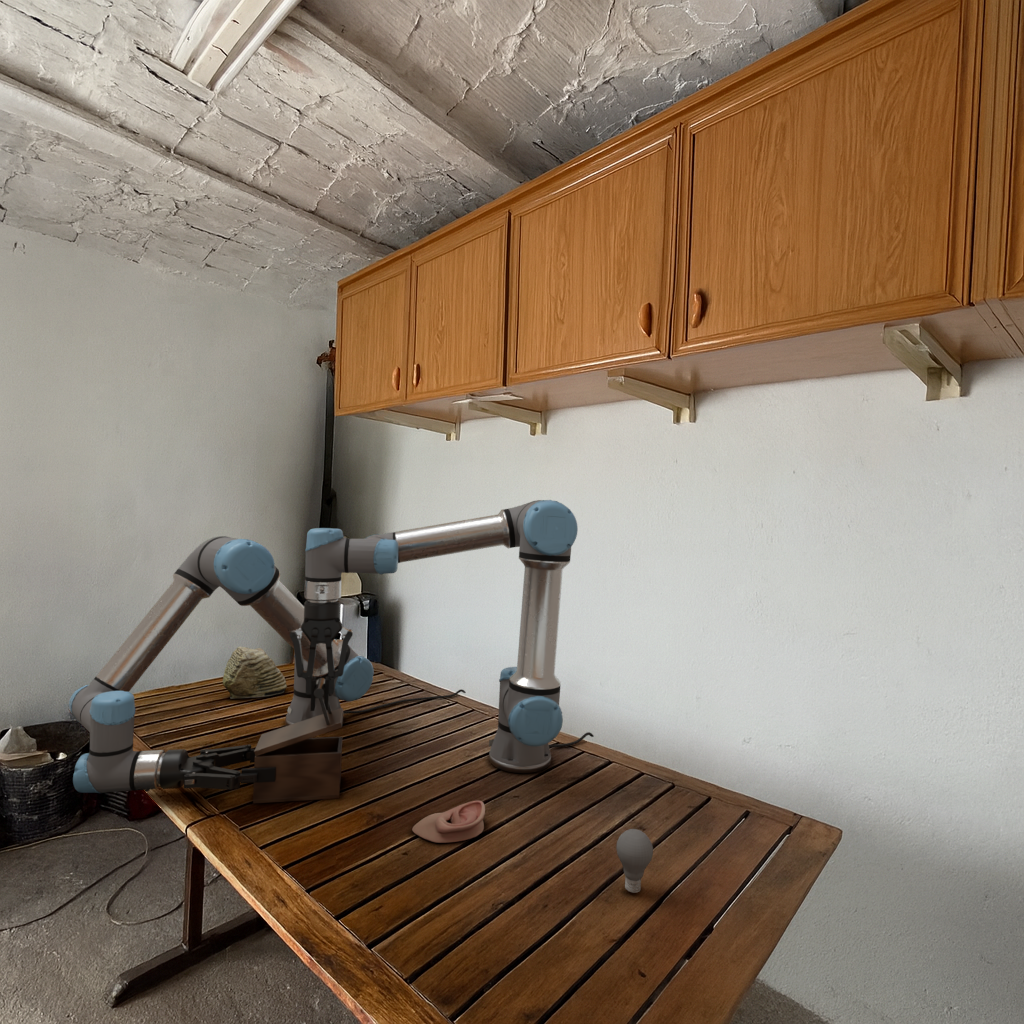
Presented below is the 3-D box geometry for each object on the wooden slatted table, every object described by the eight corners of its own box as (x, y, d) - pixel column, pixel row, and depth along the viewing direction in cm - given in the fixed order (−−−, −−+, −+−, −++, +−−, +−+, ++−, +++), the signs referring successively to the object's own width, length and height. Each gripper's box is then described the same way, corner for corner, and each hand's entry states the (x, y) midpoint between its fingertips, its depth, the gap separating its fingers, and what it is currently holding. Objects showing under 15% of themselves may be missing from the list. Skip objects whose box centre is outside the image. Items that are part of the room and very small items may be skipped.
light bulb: (610, 879, 108) (613, 822, 108) (644, 879, 109) (647, 822, 109) (619, 902, 102) (622, 840, 102) (655, 901, 103) (658, 840, 103)
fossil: (218, 695, 195) (220, 647, 195) (278, 685, 208) (279, 640, 207) (228, 703, 189) (230, 653, 188) (289, 692, 201) (290, 645, 201)
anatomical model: (406, 817, 119) (427, 790, 130) (406, 838, 119) (426, 809, 130) (475, 827, 116) (490, 799, 127) (474, 849, 116) (489, 818, 127)
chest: (340, 778, 143) (342, 736, 142) (339, 798, 133) (340, 753, 133) (260, 783, 139) (262, 739, 139) (252, 803, 130) (254, 757, 129)
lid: (343, 712, 142) (332, 673, 142) (342, 727, 133) (329, 685, 132) (262, 739, 139) (250, 699, 138) (255, 756, 129) (242, 713, 129)
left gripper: (178, 765, 141) (284, 760, 146) (144, 814, 119) (270, 806, 124) (179, 731, 141) (285, 727, 146) (145, 774, 119) (271, 768, 124)
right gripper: (283, 603, 131) (280, 716, 131) (358, 602, 134) (355, 713, 135) (287, 597, 138) (284, 704, 139) (359, 597, 142) (355, 701, 142)
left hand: (278, 764), depth 135 cm, fingers closed on chest, 9 cm apart
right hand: (319, 708), depth 137 cm, fingers closed on lid, 2 cm apart
